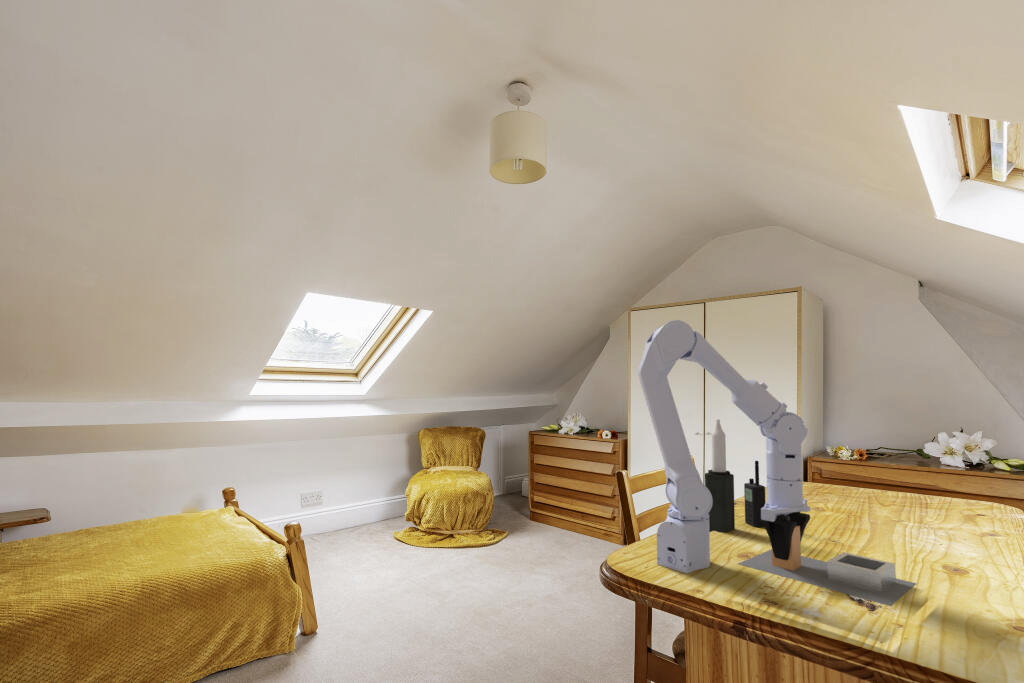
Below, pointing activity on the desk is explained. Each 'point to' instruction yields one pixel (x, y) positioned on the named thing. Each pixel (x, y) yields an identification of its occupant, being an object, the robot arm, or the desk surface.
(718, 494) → the black nozzle bottle
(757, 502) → the walkie-talkie
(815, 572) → the mat
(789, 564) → the connector plug
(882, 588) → the end holder
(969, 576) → the desk surface
